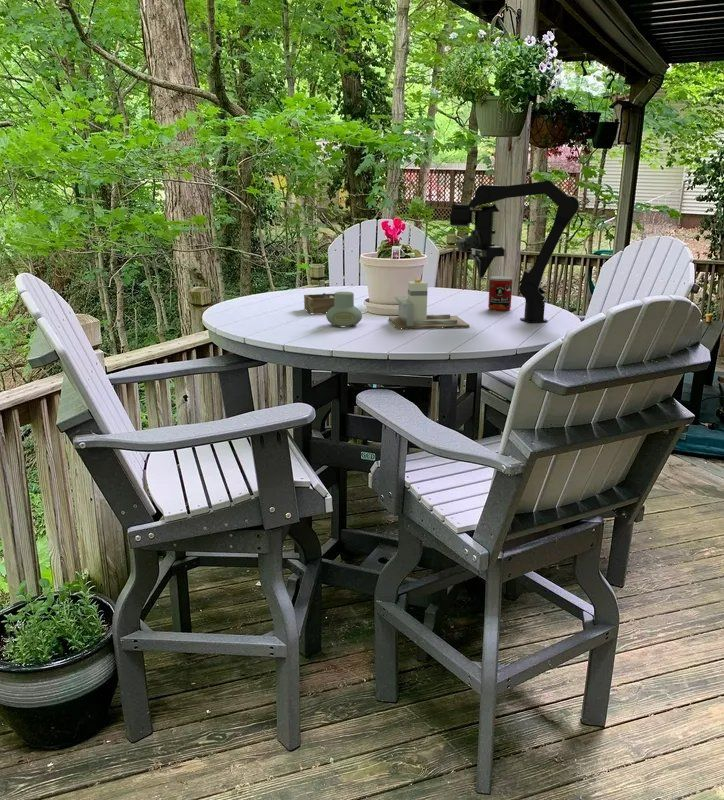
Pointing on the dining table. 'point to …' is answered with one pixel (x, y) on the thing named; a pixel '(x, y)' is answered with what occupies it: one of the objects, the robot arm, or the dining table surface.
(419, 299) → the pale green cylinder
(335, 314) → the air freshener
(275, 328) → the dining table surface
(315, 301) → the brown wooden box
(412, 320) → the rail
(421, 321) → the board
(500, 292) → the canned food
